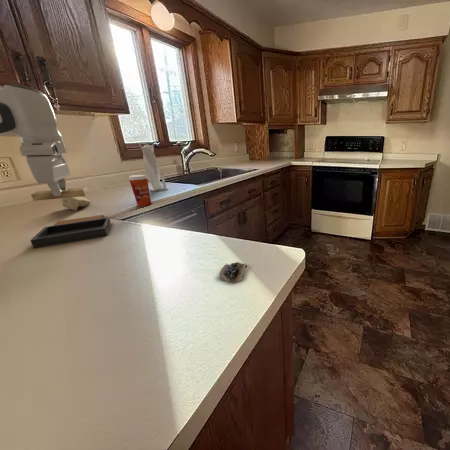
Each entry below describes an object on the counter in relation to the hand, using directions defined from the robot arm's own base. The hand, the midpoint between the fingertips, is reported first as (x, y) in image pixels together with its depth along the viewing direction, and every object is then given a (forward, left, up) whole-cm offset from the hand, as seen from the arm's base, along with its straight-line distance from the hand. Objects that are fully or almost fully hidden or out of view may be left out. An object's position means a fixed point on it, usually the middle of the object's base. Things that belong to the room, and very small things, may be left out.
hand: (61, 193), depth 77 cm
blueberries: (+37, -54, -14) cm, 67 cm away
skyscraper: (+27, +70, -14) cm, 77 cm away
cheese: (-6, +42, -14) cm, 45 cm away
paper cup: (+20, +32, -14) cm, 41 cm away
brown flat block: (-2, +16, -14) cm, 21 cm away
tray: (0, 0, -14) cm, 14 cm away
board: (0, 0, -1) cm, 1 cm away
